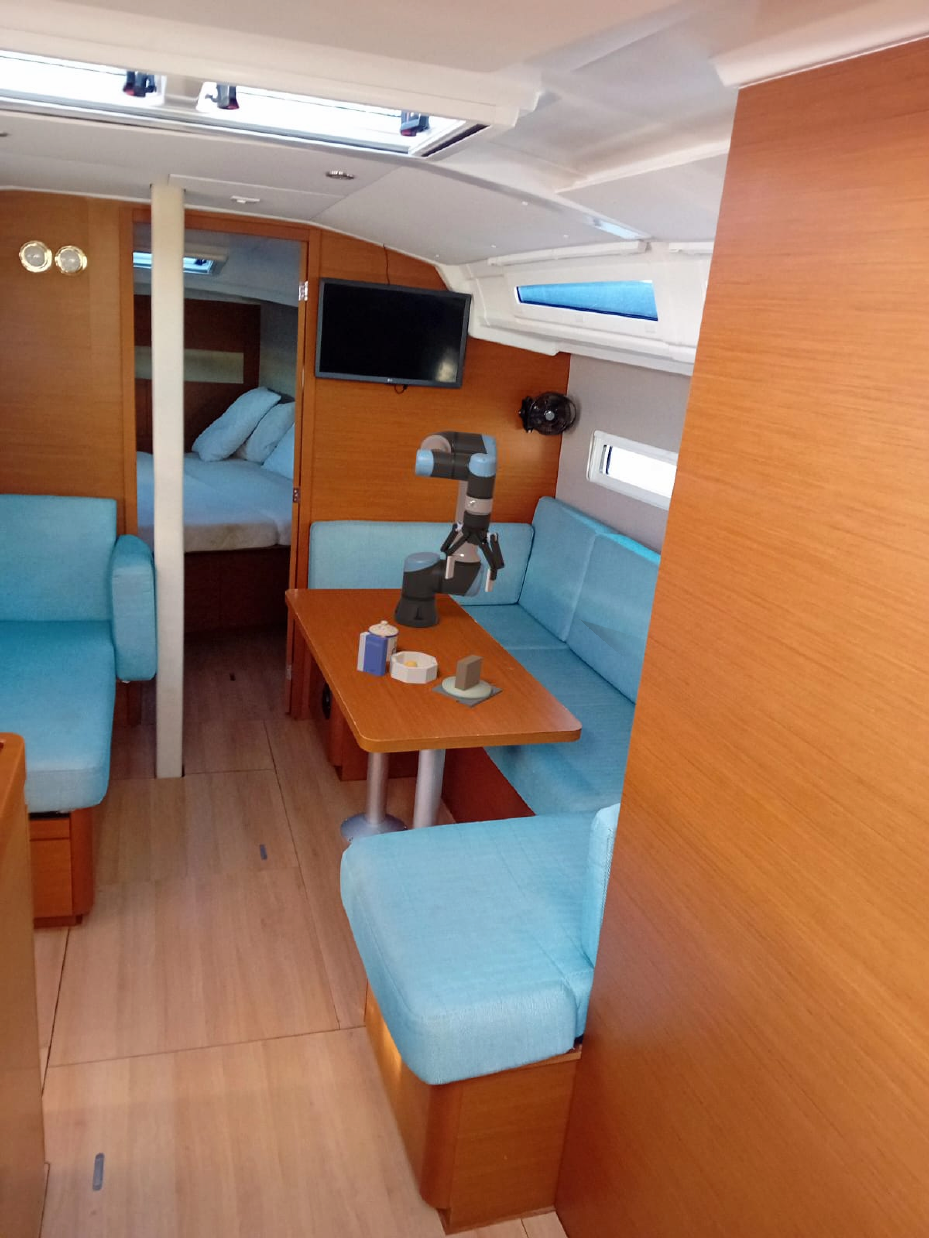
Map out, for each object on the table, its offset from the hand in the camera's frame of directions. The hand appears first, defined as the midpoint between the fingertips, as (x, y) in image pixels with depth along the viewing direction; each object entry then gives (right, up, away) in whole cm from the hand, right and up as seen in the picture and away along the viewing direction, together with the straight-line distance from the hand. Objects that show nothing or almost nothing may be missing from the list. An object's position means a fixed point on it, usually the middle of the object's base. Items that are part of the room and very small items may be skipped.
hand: (468, 584), depth 264 cm
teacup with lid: (-27, -21, +19) cm, 39 cm away
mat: (-1, -30, +1) cm, 30 cm away
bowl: (-16, -26, +7) cm, 32 cm away
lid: (-1, -30, +1) cm, 30 cm away
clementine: (-17, -26, +6) cm, 32 cm away
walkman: (-28, -26, +5) cm, 39 cm away
